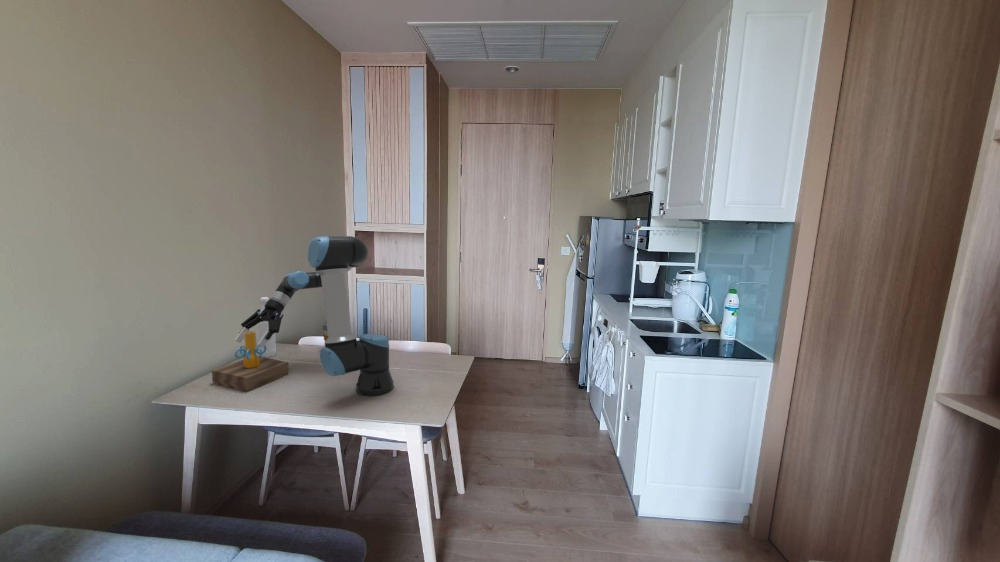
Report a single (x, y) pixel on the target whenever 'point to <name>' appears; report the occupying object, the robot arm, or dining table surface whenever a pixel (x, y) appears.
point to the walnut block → (249, 374)
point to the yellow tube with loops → (250, 351)
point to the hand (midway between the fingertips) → (248, 343)
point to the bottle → (262, 329)
